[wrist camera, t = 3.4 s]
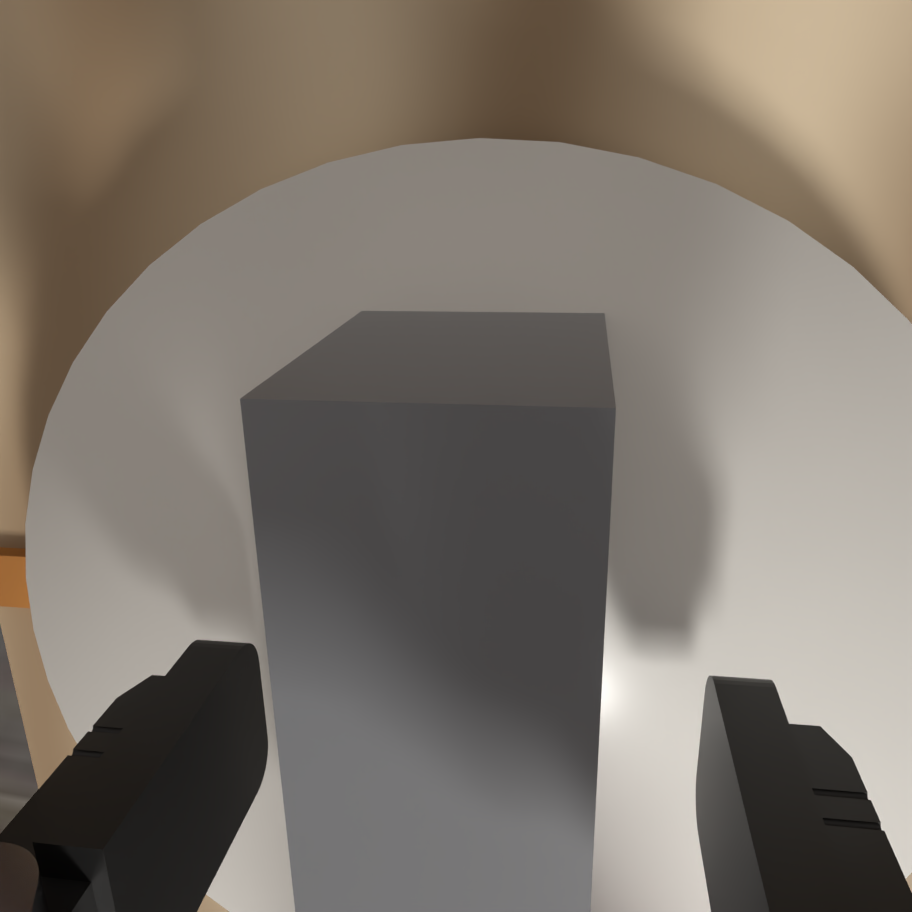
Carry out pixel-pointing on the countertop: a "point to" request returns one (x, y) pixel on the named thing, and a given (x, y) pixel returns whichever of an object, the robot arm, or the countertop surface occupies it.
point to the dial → (489, 517)
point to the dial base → (388, 125)
